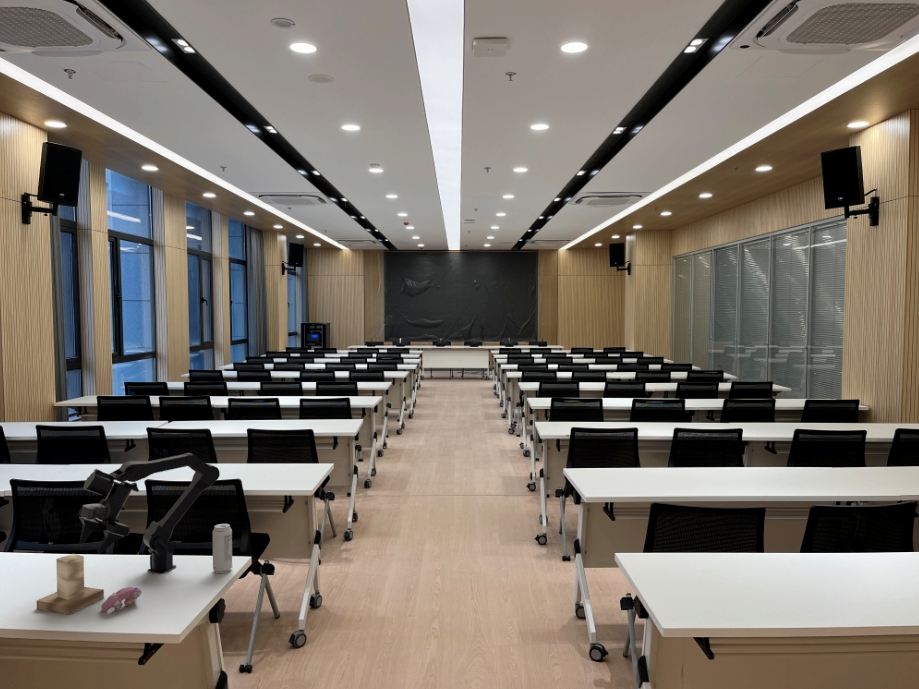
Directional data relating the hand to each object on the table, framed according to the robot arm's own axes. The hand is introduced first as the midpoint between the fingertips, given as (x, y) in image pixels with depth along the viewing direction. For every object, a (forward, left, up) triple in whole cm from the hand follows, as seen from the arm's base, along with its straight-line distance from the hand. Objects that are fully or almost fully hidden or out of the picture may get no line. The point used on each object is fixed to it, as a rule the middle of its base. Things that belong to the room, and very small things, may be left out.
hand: (89, 548), depth 206 cm
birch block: (-5, +12, -10) cm, 16 cm away
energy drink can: (-31, -23, -12) cm, 41 cm away
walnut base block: (-5, +12, -12) cm, 18 cm away
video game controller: (-21, +9, -12) cm, 26 cm away
